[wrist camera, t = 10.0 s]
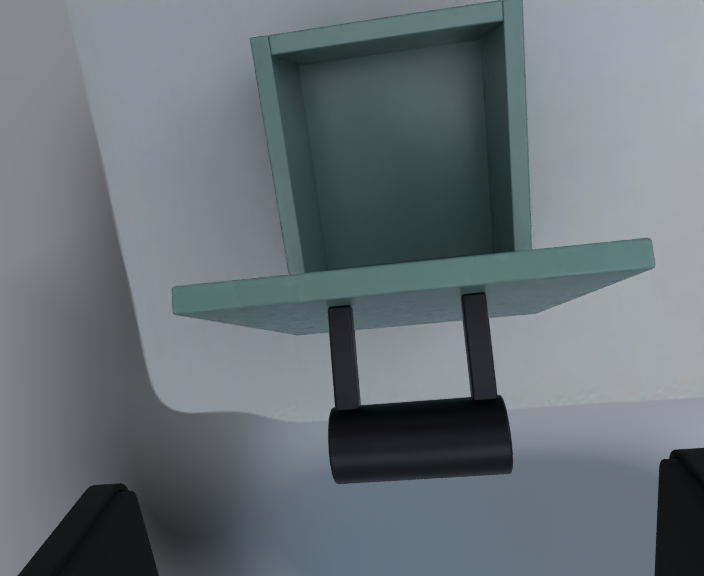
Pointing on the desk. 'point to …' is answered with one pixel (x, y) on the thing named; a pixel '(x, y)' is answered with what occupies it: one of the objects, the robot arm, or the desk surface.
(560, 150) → the desk surface
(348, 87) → the open box
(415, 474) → the box lid
